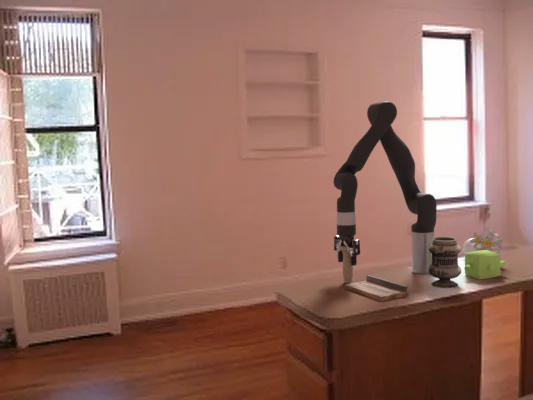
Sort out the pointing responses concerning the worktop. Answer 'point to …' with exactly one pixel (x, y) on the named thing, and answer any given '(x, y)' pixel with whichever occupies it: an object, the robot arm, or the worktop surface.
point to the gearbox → (483, 264)
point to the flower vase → (482, 242)
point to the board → (378, 288)
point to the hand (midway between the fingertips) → (347, 263)
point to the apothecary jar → (444, 261)
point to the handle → (347, 265)
